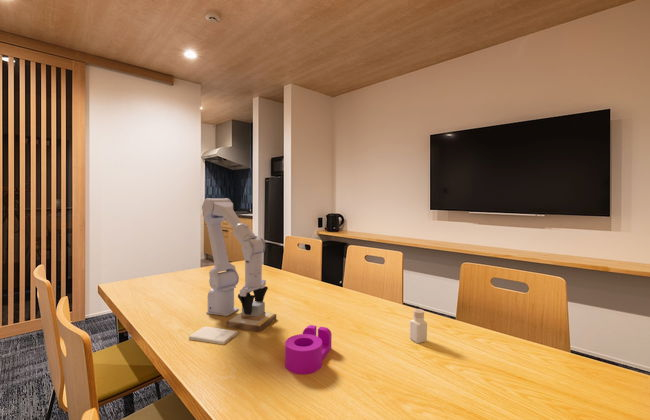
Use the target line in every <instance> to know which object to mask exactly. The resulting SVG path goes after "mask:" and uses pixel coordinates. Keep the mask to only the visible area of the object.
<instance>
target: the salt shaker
mask: <svg viewBox="0 0 650 420" xmlns="http://www.w3.org/2000/svg"><path fill="white" fill-rule="evenodd" d="M424 318H425V311H424V310H423V309H421V308H420V309H419V308H415V309H413V319H411V320H410V321H409V339H410V340H411V341H412V342H414V343H416V344H421V343H424V342H427V340H428V322H427V321H426V320H425V319H424Z"/></svg>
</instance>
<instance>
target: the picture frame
mask: <svg viewBox="0 0 650 420" xmlns="http://www.w3.org/2000/svg"><path fill="white" fill-rule="evenodd" d="M241 314H242V311H241V312H239V314H237V315H235V316H233V317H232V318H230V319H229V320H227V321H226V324H225V326H226V328H232V329H239V330H245V331H251V332H252V331H253V332H259V333H261V332H262V331H263V330H265V329H266V328H267V327H268V326H269V325H271V324H272V323H273V322H274V321H276V319H277V314H276V313H270V312H266V311H265V317H264V318H262V319H261V320H260V321H256V320H249V319H242V318H241Z"/></svg>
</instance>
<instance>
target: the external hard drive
mask: <svg viewBox="0 0 650 420" xmlns="http://www.w3.org/2000/svg"><path fill="white" fill-rule="evenodd" d="M238 333H239V331H238V330H231V329H226V328H218V327H213V326H207V325H206V326H202V327H200V329H198V330H197V331H195V332H193V333H192V334H190V335H189V336H188V340H191V341H197V342H204V343H211V344H217V345H218V344H219V345H225V344H227V343H228V342H229V341H230V340H231V339H232V338H234V337H235V336H237V335H238Z"/></svg>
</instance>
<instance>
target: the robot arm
mask: <svg viewBox="0 0 650 420" xmlns="http://www.w3.org/2000/svg"><path fill="white" fill-rule="evenodd" d="M201 209H202V215H203V220H204V222H205V224H206V229H207V234H208V238H209V243H210V247H211V248H210V249H211V253H212V254H211V255H212V258H213V263H214V265H213V266H212V268H211V269H210V270H209V273H208V274H209V279H208V280H209V281H208V283H209V286H210V289H209V291H208V293H207V311H206V314H209V315H217V316H223V317H224V316H225V317H229V315H231V314H233V313H235V312H236V311H238V310H239V309H240V308H239V307H236V306H235V289H236V288H237V287H236V286H237V285H238V283H239V279H240V276H239V273H238V271H237V269H236V266H235V265H234V264H232V263H231V262H230V261H229V256H228V253H227V248H226V244H225V243H226V242H225V238H224V233H223V228H222V223H223V221H225V220H226V222H227V223H228V224H229V225H230V227H232V233H233V235H234V237H235V238H236V239H237V241H238V242H239V244H241V247H240V249H241V252H242V254H243V260H244V285H243V287H242V288H241V289H240V290H239V293H238V294H237V298H238V299H239V301H240V303H241V307H242V306H243V309H244V313H245V314H246V315H251V312H252V304H253V301H258V302H264V299H265V296H266V293H267V291H268V290H269V287H268V286H266V282H267V280H266V279H262V278H263V272H262V271H263V270H262V269H263V267H262V266H263V265H262V263H263V261H262V260H263V259H262V258H263V256H262V255H263V253H265V251H266V242H265V241H264V238H262V237H258V236H257V235H256V234H255V233H254V231H252V229H251V228H250V227H249V225H248V224H247V223H243V222H242V221H241V219H240V218H239V216H238V215H237V213H236V211H234V203H233V202H232V200H231V199H230V198H228V197H225V198H210V197H209V198H208V197H207V198H205V199H204V200H203V202H202V206H201ZM252 292H253V294H251V293H252Z"/></svg>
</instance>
